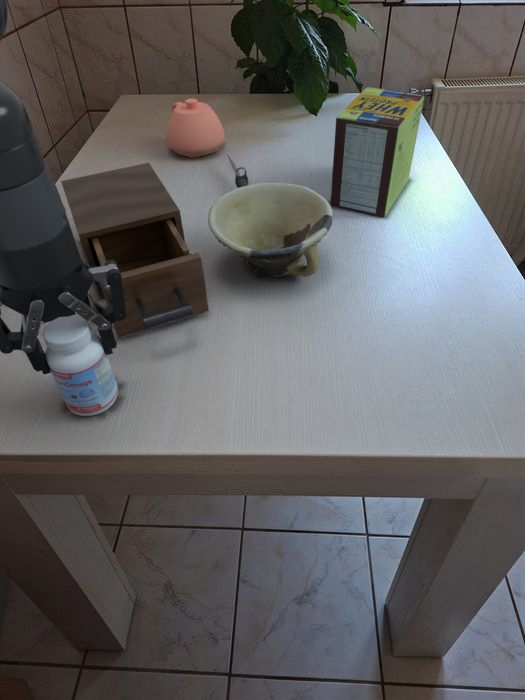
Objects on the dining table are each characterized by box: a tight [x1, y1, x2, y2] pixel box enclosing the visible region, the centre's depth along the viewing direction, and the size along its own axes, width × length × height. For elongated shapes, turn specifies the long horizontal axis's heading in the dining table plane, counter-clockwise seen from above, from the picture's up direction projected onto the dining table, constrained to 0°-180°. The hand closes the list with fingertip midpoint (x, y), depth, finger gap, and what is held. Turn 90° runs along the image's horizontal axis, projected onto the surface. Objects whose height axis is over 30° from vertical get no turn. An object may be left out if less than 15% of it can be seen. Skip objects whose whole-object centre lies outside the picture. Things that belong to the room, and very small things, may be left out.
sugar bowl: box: [166, 98, 226, 160], centre depth 105 cm, size 12×14×10 cm
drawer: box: [91, 218, 210, 339], centre depth 67 cm, size 21×13×9 cm, turn 24°
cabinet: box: [60, 162, 186, 299], centre depth 76 cm, size 17×14×11 cm
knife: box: [226, 151, 249, 189], centre depth 93 cm, size 19×2×5 cm, turn 16°
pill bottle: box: [42, 313, 119, 417], centre depth 55 cm, size 6×6×11 cm
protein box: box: [329, 86, 425, 218], centre depth 87 cm, size 10×15×16 cm
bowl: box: [207, 182, 334, 278], centre depth 73 cm, size 18×18×10 cm
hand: (77, 358), depth 54 cm, fingers closed on pill bottle, 6 cm apart
